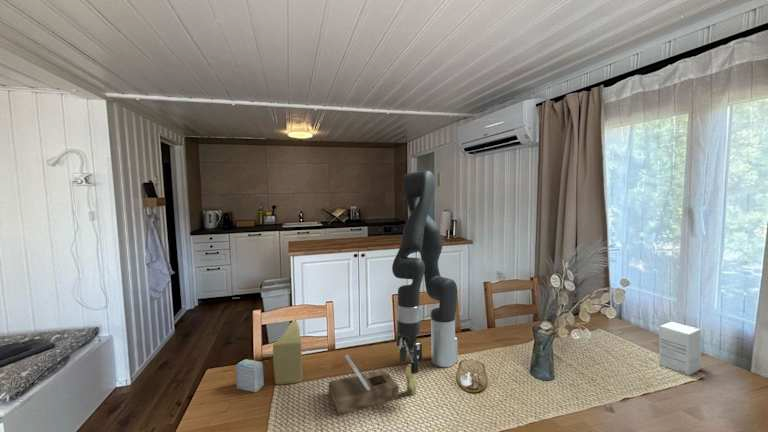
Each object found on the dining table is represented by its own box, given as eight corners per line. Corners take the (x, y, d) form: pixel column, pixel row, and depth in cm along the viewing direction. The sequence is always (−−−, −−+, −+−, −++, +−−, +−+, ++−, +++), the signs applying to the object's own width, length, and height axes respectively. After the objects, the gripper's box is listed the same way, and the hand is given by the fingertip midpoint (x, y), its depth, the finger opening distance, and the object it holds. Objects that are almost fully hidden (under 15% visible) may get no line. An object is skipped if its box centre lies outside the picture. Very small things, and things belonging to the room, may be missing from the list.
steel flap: (358, 375, 108) (360, 373, 108) (368, 391, 99) (370, 389, 99) (344, 355, 106) (347, 353, 106) (353, 370, 97) (356, 367, 97)
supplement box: (670, 358, 123) (670, 320, 123) (701, 369, 115) (701, 328, 115) (657, 364, 119) (658, 325, 119) (688, 376, 111) (689, 333, 111)
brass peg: (413, 389, 107) (412, 363, 106) (417, 394, 104) (417, 367, 104) (405, 391, 106) (404, 365, 105) (409, 396, 103) (408, 369, 102)
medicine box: (264, 386, 111) (263, 361, 110) (255, 393, 107) (254, 368, 106) (246, 382, 113) (245, 358, 113) (236, 389, 109) (235, 364, 109)
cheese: (284, 355, 133) (283, 320, 132) (308, 353, 134) (307, 318, 134) (273, 385, 111) (272, 343, 110) (302, 383, 112) (300, 341, 112)
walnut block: (384, 379, 113) (384, 368, 113) (398, 398, 102) (398, 386, 102) (328, 393, 105) (328, 381, 105) (338, 415, 94) (337, 402, 94)
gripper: (429, 323, 99) (429, 375, 99) (409, 310, 112) (409, 355, 112) (407, 327, 96) (407, 380, 97) (389, 312, 109) (389, 359, 110)
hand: (408, 366), depth 104 cm, fingers open, 8 cm apart
